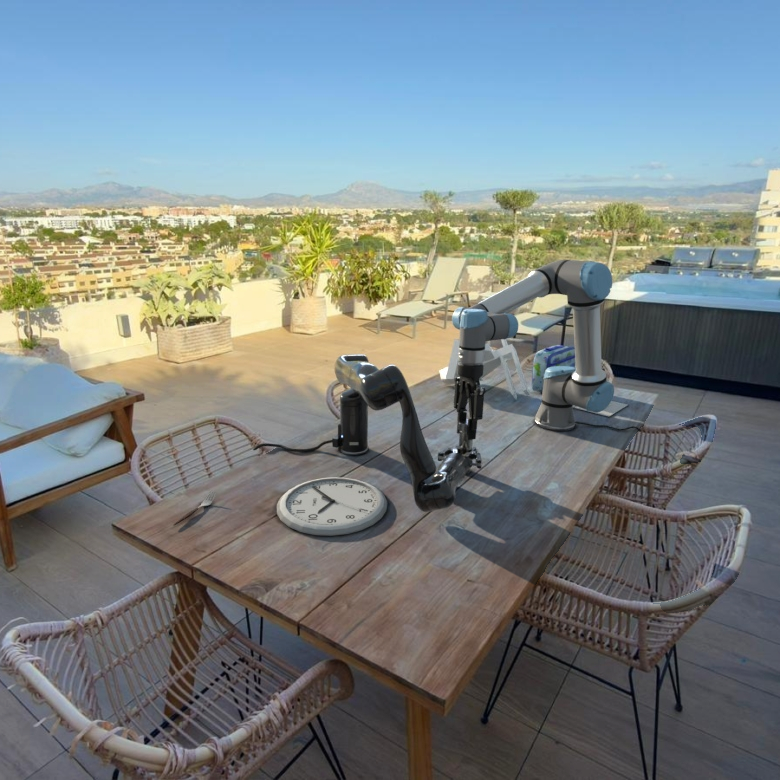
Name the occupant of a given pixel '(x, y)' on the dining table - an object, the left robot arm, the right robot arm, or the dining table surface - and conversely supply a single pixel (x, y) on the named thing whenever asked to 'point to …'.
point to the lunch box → (550, 362)
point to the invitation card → (608, 408)
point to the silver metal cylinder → (464, 445)
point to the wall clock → (331, 506)
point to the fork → (204, 503)
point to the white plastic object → (487, 365)
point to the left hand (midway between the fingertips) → (467, 448)
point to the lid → (463, 425)
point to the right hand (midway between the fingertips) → (466, 435)
